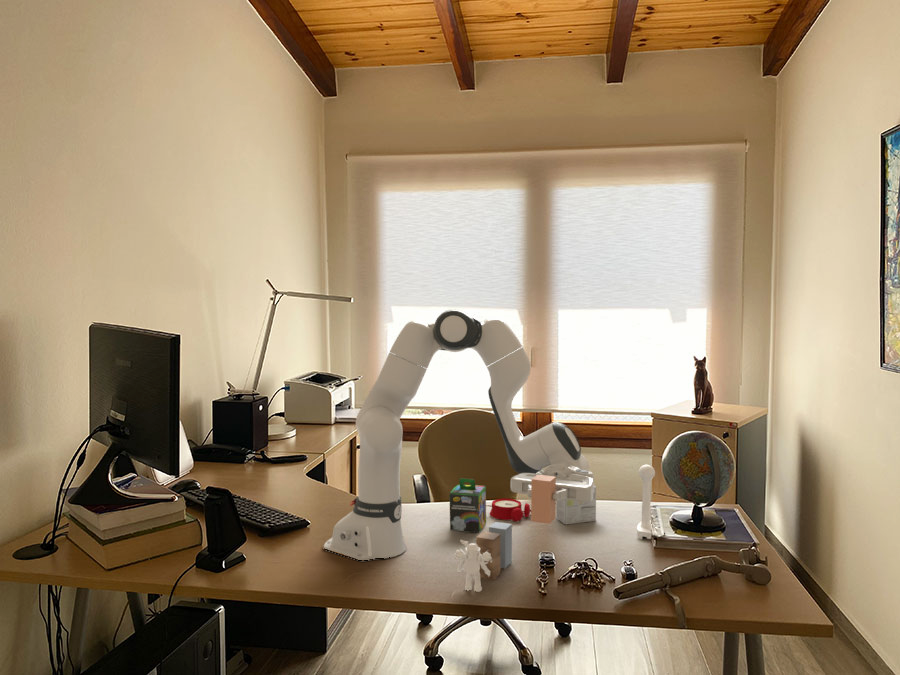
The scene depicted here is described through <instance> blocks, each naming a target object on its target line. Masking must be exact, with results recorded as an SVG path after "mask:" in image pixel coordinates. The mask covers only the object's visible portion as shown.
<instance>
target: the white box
mask: <svg viewBox="0 0 900 675" xmlns="http://www.w3.org/2000/svg"><path fill="white" fill-rule="evenodd" d="M555 519H557V520H558V521H559V522H561V523H563V525H565V526H566V525H572V524H573V525H574V524H580V523H581V524H582V523H587V522H588V523H589V522H596V521H597V486H596V485H594V496H593V500H592V501H591V502H581V501H574V500H566V499H563V500H559V501H556V518H555Z"/></svg>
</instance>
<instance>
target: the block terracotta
mask: <svg viewBox="0 0 900 675" xmlns="http://www.w3.org/2000/svg"><path fill="white" fill-rule="evenodd" d="M554 491H556V477H554V476H546V475H536V476H535V477H534V478H532V479H531V497H530V498H531V499H530V503H531V504H530V510H531V512H530V515H531V516H530V517H531V518H530V521H531V522H534V523H539V524H540V523H541V524H548V525H550V524H551V523H552V522H553V521H554V520H556V519H557V518H556V501H555V500H552V492H554Z"/></svg>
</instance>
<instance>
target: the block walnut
mask: <svg viewBox="0 0 900 675" xmlns="http://www.w3.org/2000/svg"><path fill="white" fill-rule="evenodd" d="M475 544H477V547H480V554H482V555H483V553H485V552H488V553H490V554H491V557H492V559H491V560H489V561H484V562H488V563H487V564H485V565H486V566H487V568H488V570H489V571H490V576H489V577H488V575H487V574H485V571H484V570H483V569H482V568H481V566H480V570H479V572H480V579H483V578H484V579H483V580H490V581H494V580H495V579H497V577H498V576H499V575H500V574H501V568H500V534H497V533H491V532H489V531H485V530H484V531H482V532H481V533H478V535H476V537H475ZM487 550H488V551H487ZM490 561H492V563H491V562H490Z"/></svg>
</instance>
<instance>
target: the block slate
mask: <svg viewBox="0 0 900 675" xmlns="http://www.w3.org/2000/svg"><path fill="white" fill-rule="evenodd" d="M488 532H491V533H497V534H500V567H501V568H500V569H507V568H508V566H510V565H511V564H512V561H513V557H512V556H513V554H512V553H513V552H512V551H513V545H512V544H513V543H512V542H513V524H512V523H508V522H507V523H506V522H499V521H495V522H493V523H492V524H491V525H489V527H488Z"/></svg>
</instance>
